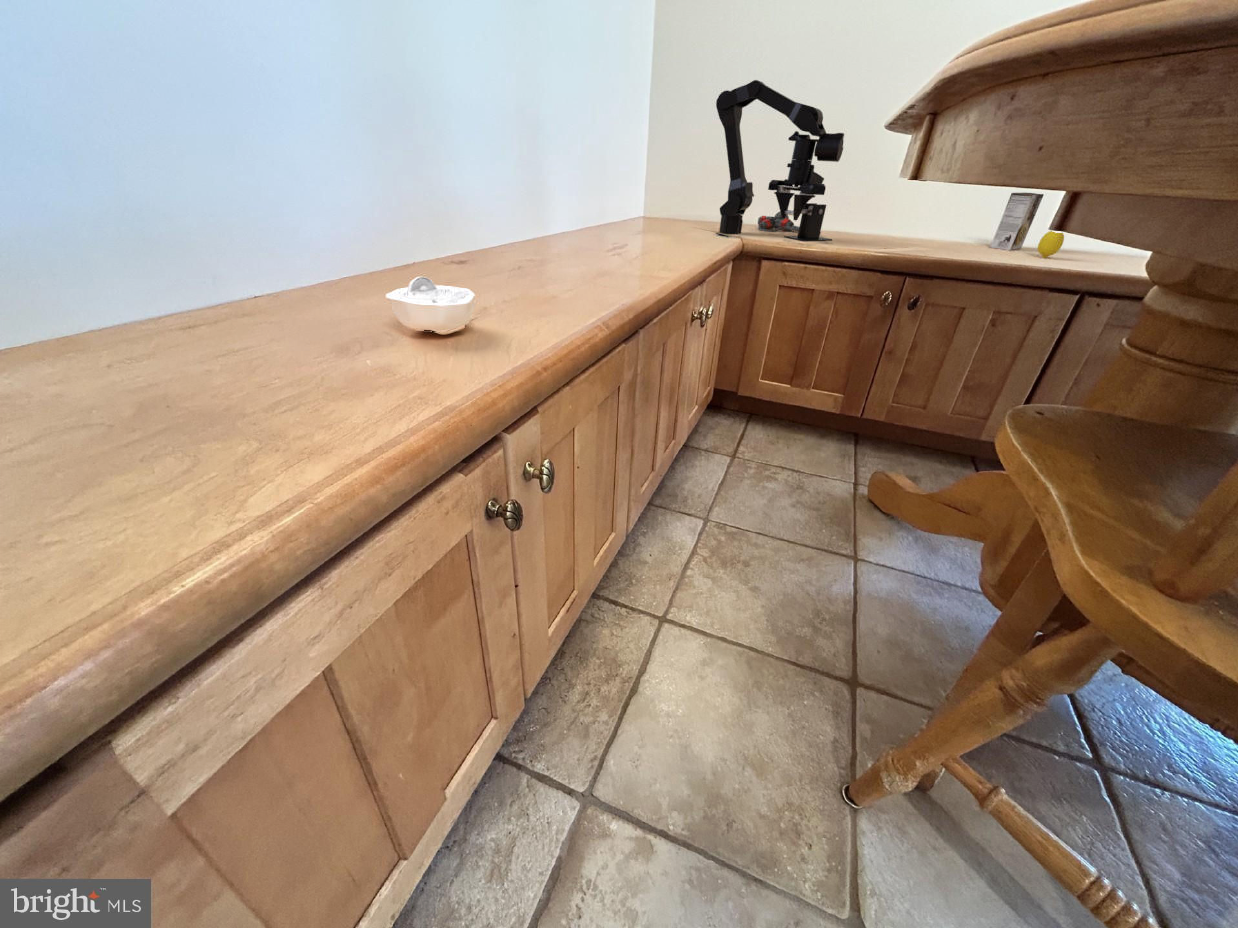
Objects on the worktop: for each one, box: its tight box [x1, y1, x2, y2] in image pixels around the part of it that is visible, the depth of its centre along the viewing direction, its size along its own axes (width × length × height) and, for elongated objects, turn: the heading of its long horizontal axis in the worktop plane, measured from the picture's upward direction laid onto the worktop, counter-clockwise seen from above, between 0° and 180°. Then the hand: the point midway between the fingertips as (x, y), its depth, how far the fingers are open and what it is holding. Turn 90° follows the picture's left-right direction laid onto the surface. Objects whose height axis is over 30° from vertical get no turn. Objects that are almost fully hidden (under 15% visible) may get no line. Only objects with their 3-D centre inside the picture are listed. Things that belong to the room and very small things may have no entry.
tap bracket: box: [783, 202, 833, 243], centre depth 157 cm, size 12×9×11 cm
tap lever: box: [784, 206, 813, 216], centre depth 154 cm, size 11×5×2 cm, turn 115°
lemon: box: [1037, 230, 1065, 259], centre depth 147 cm, size 6×6×8 cm
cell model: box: [385, 276, 476, 336], centre depth 65 cm, size 10×12×7 cm
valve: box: [757, 211, 822, 235], centre depth 175 cm, size 6×26×15 cm
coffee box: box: [989, 192, 1044, 251], centre depth 161 cm, size 9×6×16 cm
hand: (789, 219), depth 153 cm, fingers closed on tap lever, 5 cm apart
